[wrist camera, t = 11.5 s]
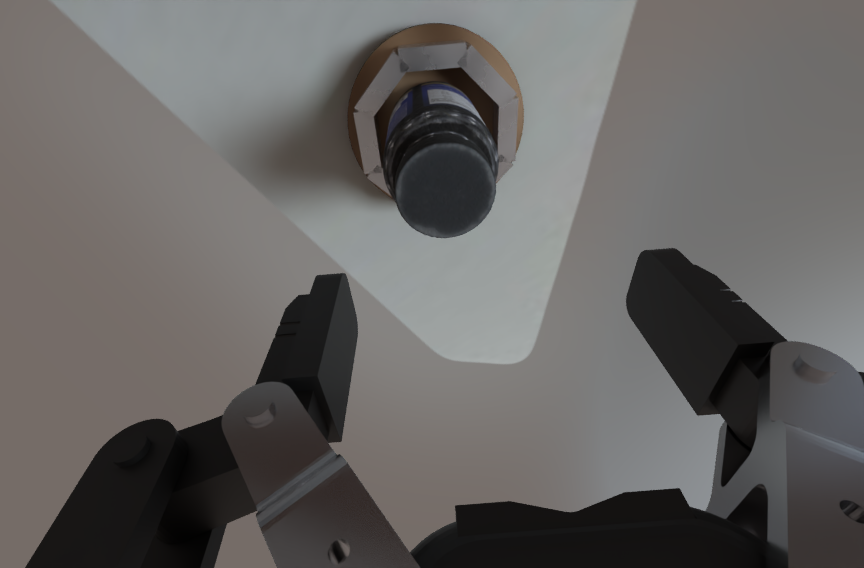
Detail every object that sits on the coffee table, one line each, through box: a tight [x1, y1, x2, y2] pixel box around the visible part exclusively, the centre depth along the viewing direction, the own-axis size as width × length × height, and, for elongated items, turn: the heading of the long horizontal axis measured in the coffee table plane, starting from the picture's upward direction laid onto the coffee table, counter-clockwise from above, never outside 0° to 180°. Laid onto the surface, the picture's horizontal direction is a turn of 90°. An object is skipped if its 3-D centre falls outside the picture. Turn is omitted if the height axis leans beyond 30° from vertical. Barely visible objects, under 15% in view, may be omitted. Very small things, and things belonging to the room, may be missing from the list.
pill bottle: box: [383, 81, 499, 238], centre depth 22 cm, size 6×6×11 cm
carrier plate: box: [348, 23, 524, 199], centre depth 26 cm, size 12×12×4 cm
